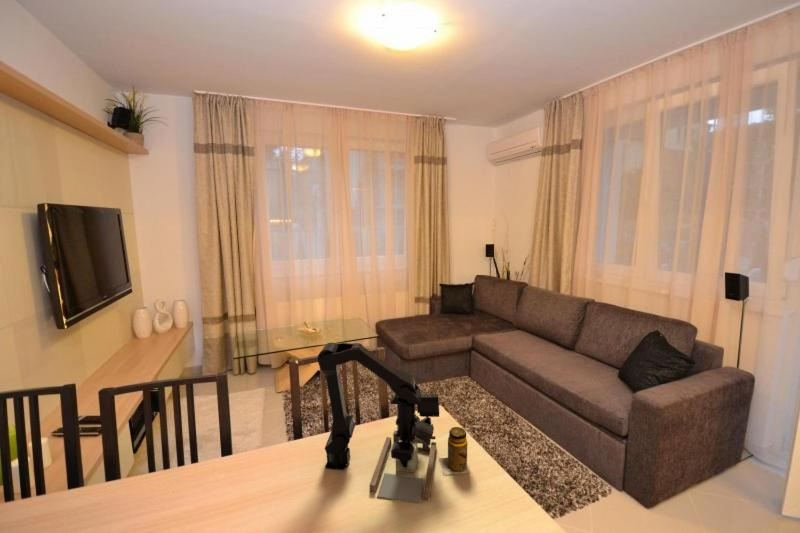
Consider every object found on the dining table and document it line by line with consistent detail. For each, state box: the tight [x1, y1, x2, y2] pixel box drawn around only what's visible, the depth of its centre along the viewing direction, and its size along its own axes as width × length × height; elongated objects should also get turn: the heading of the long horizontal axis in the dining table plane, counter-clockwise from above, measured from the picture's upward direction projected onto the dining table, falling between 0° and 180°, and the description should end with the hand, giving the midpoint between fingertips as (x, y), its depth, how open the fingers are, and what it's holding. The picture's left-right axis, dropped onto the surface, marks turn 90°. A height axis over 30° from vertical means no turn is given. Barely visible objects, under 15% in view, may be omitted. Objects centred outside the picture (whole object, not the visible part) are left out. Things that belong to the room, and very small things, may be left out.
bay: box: [369, 430, 437, 501], centre depth 113 cm, size 17×24×5 cm
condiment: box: [438, 426, 472, 476], centre depth 112 cm, size 7×8×12 cm
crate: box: [395, 440, 419, 473], centre depth 114 cm, size 6×6×6 cm
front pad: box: [376, 472, 424, 504], centre depth 104 cm, size 12×9×1 cm
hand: (406, 459), depth 114 cm, fingers closed on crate, 6 cm apart
